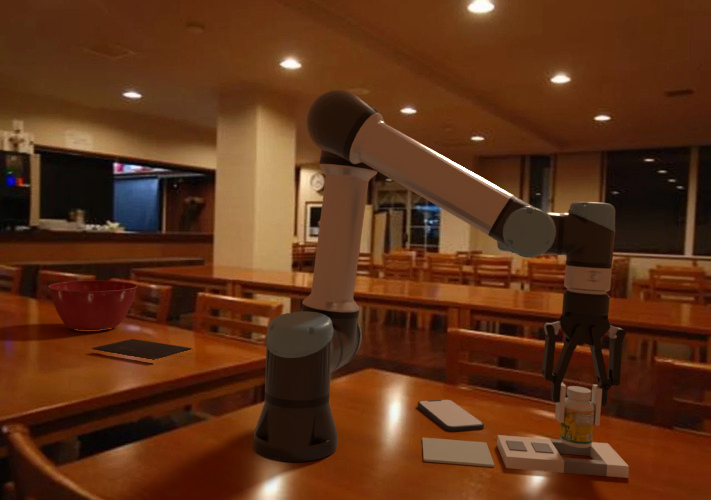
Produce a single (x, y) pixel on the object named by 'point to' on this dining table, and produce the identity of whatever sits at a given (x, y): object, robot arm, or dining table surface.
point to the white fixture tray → (547, 457)
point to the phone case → (450, 415)
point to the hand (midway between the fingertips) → (576, 421)
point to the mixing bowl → (92, 303)
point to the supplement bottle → (577, 418)
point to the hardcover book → (142, 349)
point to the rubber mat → (456, 452)
